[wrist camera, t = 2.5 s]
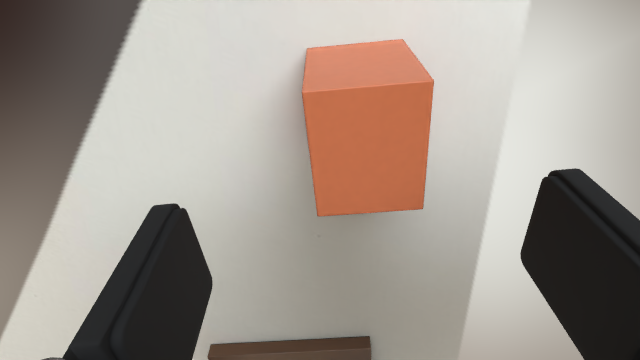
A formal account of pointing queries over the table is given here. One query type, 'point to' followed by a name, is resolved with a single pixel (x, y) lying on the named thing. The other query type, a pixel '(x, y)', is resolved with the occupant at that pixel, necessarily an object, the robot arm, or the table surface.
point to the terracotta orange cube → (367, 127)
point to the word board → (295, 350)
